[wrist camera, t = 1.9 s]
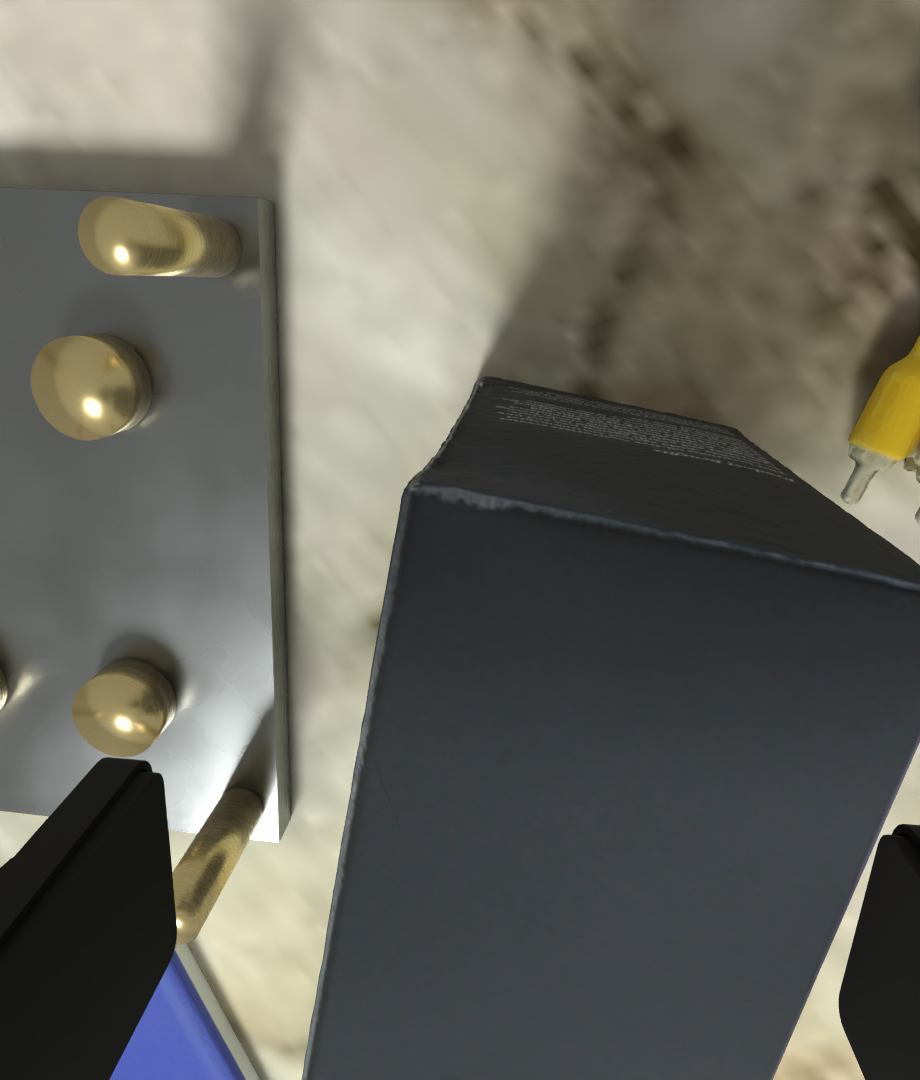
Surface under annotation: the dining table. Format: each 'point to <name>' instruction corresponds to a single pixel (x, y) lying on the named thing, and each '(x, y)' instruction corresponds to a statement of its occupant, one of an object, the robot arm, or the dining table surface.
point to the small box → (610, 754)
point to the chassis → (144, 513)
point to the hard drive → (184, 1032)
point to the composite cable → (888, 427)
